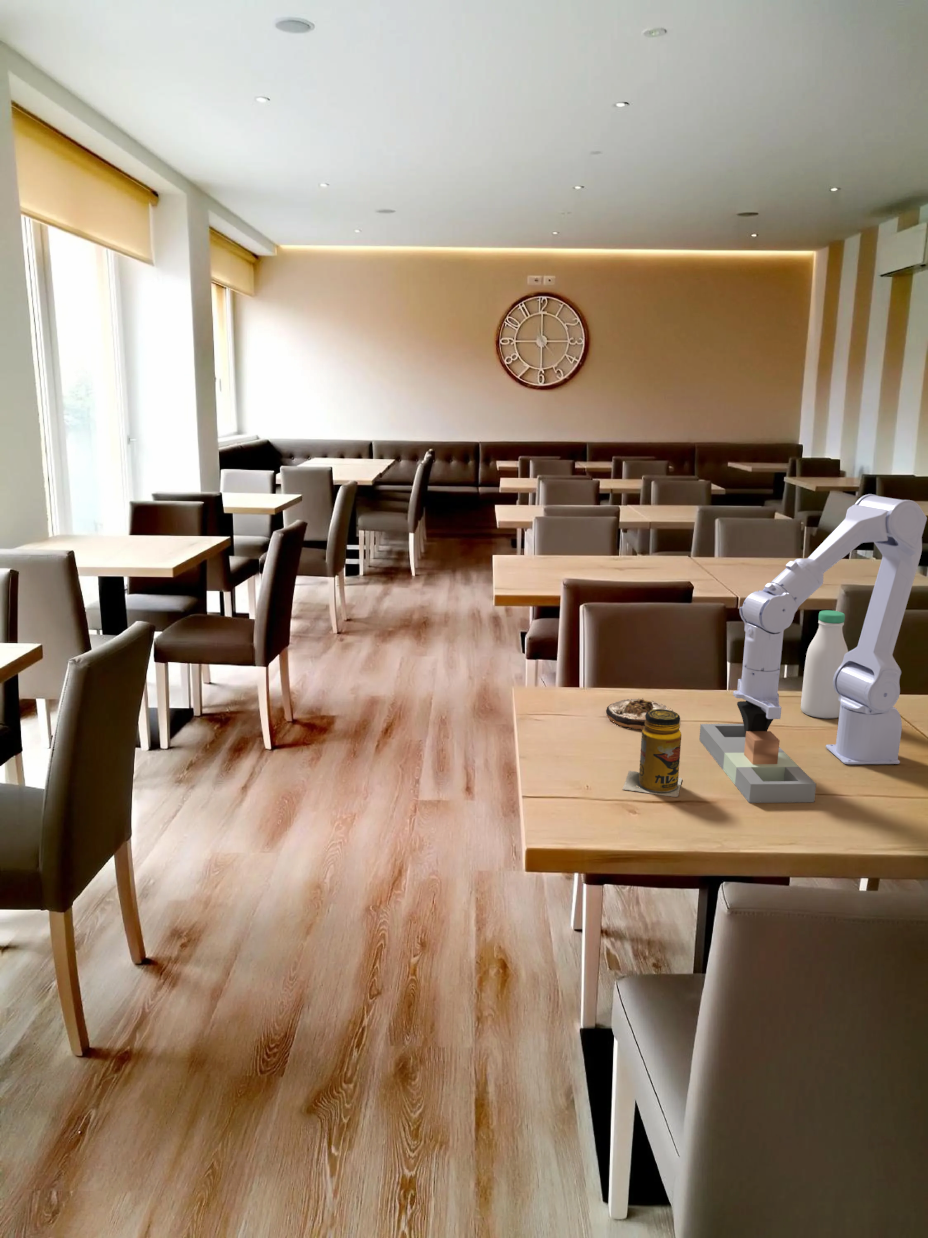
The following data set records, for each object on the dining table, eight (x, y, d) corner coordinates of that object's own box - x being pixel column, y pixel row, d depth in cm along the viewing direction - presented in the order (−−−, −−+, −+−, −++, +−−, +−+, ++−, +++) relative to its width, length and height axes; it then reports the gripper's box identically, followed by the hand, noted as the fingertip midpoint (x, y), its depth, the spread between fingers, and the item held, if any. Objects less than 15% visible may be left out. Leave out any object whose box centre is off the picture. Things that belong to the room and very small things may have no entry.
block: (768, 754, 152) (770, 731, 151) (777, 764, 148) (779, 740, 147) (744, 754, 152) (746, 731, 151) (752, 764, 148) (754, 740, 147)
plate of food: (628, 740, 167) (629, 718, 166) (586, 713, 181) (586, 693, 180) (696, 729, 173) (698, 708, 172) (650, 704, 186) (652, 684, 185)
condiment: (677, 798, 143) (683, 723, 140) (622, 790, 145) (626, 717, 142) (681, 779, 150) (687, 708, 147) (628, 772, 152) (632, 702, 149)
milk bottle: (848, 720, 177) (860, 617, 173) (808, 719, 178) (818, 616, 173) (833, 706, 185) (844, 608, 180) (794, 706, 185) (804, 607, 180)
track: (754, 739, 167) (756, 723, 166) (814, 802, 142) (816, 783, 141) (699, 740, 166) (700, 724, 166) (749, 802, 141) (750, 784, 140)
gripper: (722, 653, 157) (716, 730, 160) (752, 680, 143) (744, 763, 146) (764, 653, 157) (756, 730, 160) (797, 680, 143) (789, 763, 146)
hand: (753, 746), depth 153 cm, fingers closed
